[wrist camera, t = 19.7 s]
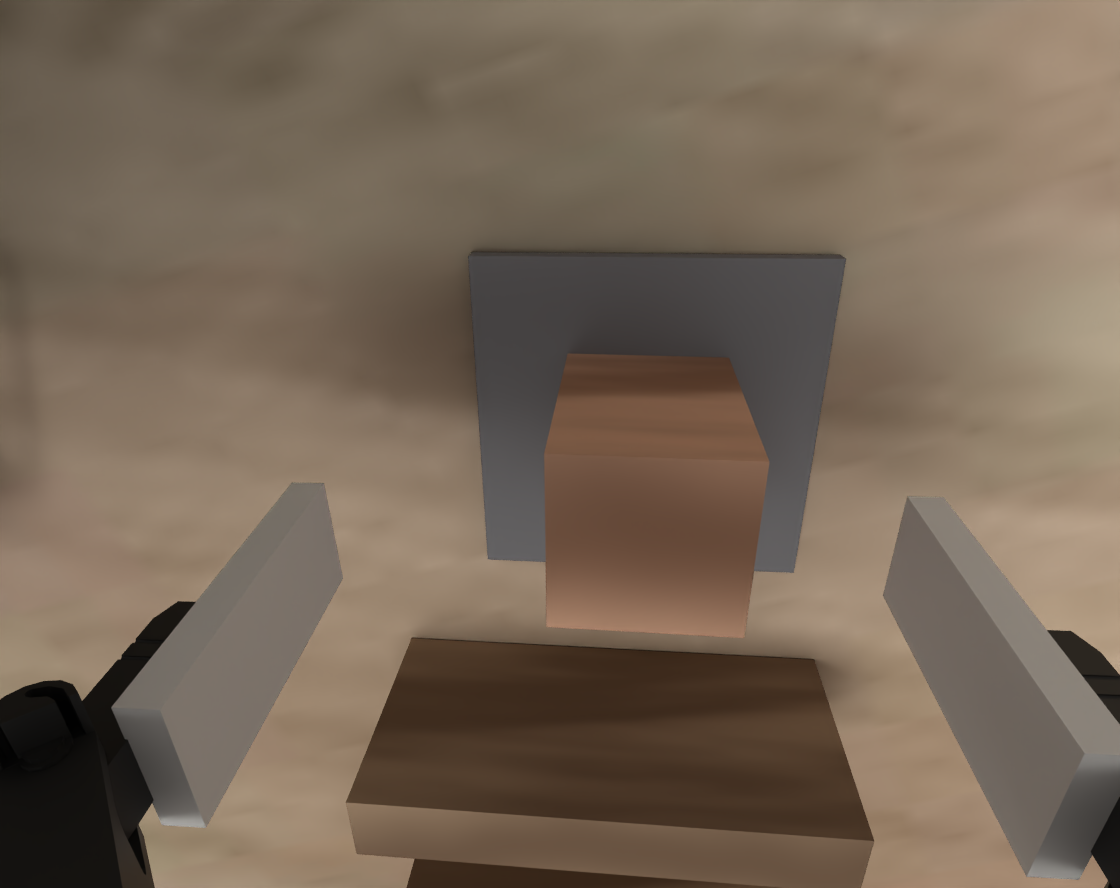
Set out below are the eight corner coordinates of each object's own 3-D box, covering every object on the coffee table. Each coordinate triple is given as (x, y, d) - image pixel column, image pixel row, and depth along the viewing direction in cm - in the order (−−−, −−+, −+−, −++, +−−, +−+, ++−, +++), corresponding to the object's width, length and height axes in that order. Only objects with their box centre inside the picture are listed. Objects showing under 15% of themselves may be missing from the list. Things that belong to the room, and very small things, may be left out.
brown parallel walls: (411, 638, 29) (345, 802, 22) (814, 659, 27) (874, 841, 21) (436, 831, 34) (390, 1011, 27) (775, 857, 33) (813, 1053, 26)
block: (567, 353, 22) (544, 453, 16) (728, 357, 22) (769, 462, 16) (567, 491, 24) (546, 627, 18) (713, 497, 24) (744, 637, 18)
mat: (472, 251, 22) (467, 255, 21) (840, 254, 21) (845, 258, 20) (490, 549, 27) (487, 559, 26) (790, 562, 26) (793, 572, 25)
